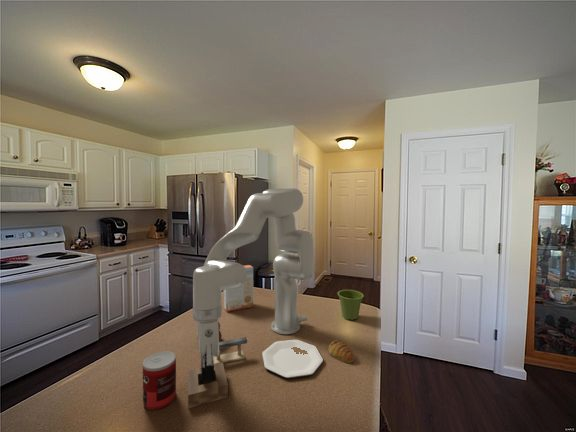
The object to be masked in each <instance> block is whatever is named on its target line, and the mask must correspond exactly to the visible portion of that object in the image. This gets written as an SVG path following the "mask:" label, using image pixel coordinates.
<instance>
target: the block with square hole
mask: <svg viewBox="0 0 576 432" xmlns="http://www.w3.org/2000/svg"><path fill="white" fill-rule="evenodd" d="M228 384H229V383H228V380H227V375H226V371H225V367H224V363H220V364H215V365H214V378H213V382H211V383H207V384H203V385H201V367H198V368H193V369H189V370H187V409H191V408H194V407H198V406H202V405H205V404H209V403H212V402H216V401H219V400H222V399H227V398H228V397H229V392H228V391H229V387H228V386H229V385H228Z"/></svg>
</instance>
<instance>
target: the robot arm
mask: <svg viewBox="0 0 576 432" xmlns="http://www.w3.org/2000/svg"><path fill="white" fill-rule="evenodd" d="M303 203H304V196H303V193H302V192H301V190H300V189H297V188H269V189H265V190H264V191H262V192H257V193H254V194H252V195H250V197H249V198H248V199H247V201H246V203H245V205H244V208H243V210H242V211H241V214H240V216H239V218H238V219H237V222H236V224H235V226H234V227H233V229H231V230H230V231H228V232H227V233H226V234H225V235H223V237H221V238H220V239H219V240H218V241H217V242H215V244H214V245H213V246H212V247H211V250H210V251H209V253H208V255H207V257H206V259H205V260H204V264H203V266H199V267H197V268H196V269H194V270H193V274H192V319H193V321H195V322H197V342H198V343H199V344H198V343H197V344H198V348H199V349H198V351H199V356H200V360H201V359H203V366H202V381H207V380H211V379H213V378H214V360H213V356H219V331H220V330H219V329H218V322H219V319H221V316H222V291H223V292H224V290H227V289H234V288H237V287H239V286H241V285H242V284H243V283H244V282H245V280H246V278H247V270H246V268H245V267H244V266H245V265H243V264H241V263H239V262H234V261H230V260H227V259H228V257H229V256H230V255H231V253H233V252H234V251H235V250H236V249H238V248H240V247H243V246H245V245H248V244H251V243H253V242H255V241H257V240H258V239H259V237H260V235H261V232H262V230H263V227H264V225H265V223H266V220H267V219H268V218H273V220H274V235H275V236H274V237H275V247H276V249H277V250H278V251H280V252H282V253H280V254H278V255H276V256H275V257H274V259H273V261H272V270H273V275H274V319H273V321H272V322H271V323H270V329H271V330H272V331H273V332H274V333H276V334H280V335H292V334H295V333H297V332H299V330H300V329H301V324H300V323H301V322H307V321H308V318H307V317H308V316H306V315H305V316H303V315H302V314H298V284H297V282H296V280H297V281H298V280H299V281H309V280H310V279H311V278H312V277H313V274H314V269H315V268H314V267H315V260H314V259H315V258H314V256H315V253H314V249H315V248H314V239H313V236H312V234H311V232H309V231H306V230H299V229H297V227H296V217H295V214H294V213H296V212H298V211H299V210H300V209H301V207H302V206H303ZM283 252H284V253H283ZM289 253H291V254H289ZM295 254H297V255H295ZM205 354H206V355H205ZM205 359H206V361H205Z"/></svg>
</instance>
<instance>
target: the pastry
mask: <svg viewBox="0 0 576 432" xmlns="http://www.w3.org/2000/svg"><path fill="white" fill-rule="evenodd" d="M327 350H328V352H329V354H330V356H332V357H333V358H335V359H336V360H337V361H340V362H342V361H343V363H347V364H350V363H352V362H354V360H355V359H356V357H355V354H354V352H353V350H351V348H350V347H349V346H347V344H345V343H344V342H342V341H339V340H337V339H336V340H333V341H331V343H330V344H329V345H328V349H327Z"/></svg>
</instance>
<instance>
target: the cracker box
mask: <svg viewBox="0 0 576 432" xmlns="http://www.w3.org/2000/svg"><path fill="white" fill-rule="evenodd" d="M243 266H244V267H245V268H246V270H247V278H246V280H245V282H244V283H243V284H242V285H241V286H239V287H237V288H234V289H227V290H223V308H224V310H225V312H226V313H228V312H233V311H237V310H238V311H239V310H243V309H249V308H254V266H252V265H250V264H247V265H243Z"/></svg>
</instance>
